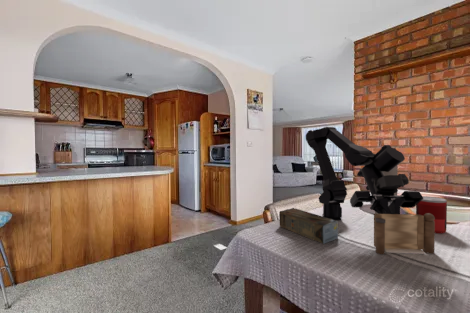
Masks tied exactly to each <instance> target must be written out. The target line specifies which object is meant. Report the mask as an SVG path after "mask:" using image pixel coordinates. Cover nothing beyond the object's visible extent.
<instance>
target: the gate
mask: <svg viewBox="0 0 470 313" xmlns="http://www.w3.org/2000/svg"><path fill="white" fill-rule="evenodd" d="M375 218H383V219H385V248H394V249H418V250H422V251H423V244H424V216H422V215H416V214H409V213H407V214H406V213H405V214H403V213H402V214H401V213H400V214H375V213H373V246H374V247H375V248H376V221H375Z"/></svg>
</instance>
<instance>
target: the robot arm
mask: <svg viewBox="0 0 470 313" xmlns="http://www.w3.org/2000/svg"><path fill="white" fill-rule="evenodd" d="M328 140H329V141H330V142H331V143H332V144H333V145H335V146H336V147H337V148H338V149H340V151H341V152H343V154H344V156H345V159H346V161H347V162H348V163H349V164H350V165H351V166H353V167H361V166H362V168H359V170H358V172H357V174H356V176H357V177H360V178H364V180H365V184H366V187H365V189H366V190H355V191H354V193H353V194H352V196H351V197H350V199H349V203H350V206H351V208H362V207H363V206H364V203H369V204H370V207H369V210H373V212H375V211H376V212H377V213H378V214H401V208H402V209H404V208H405V209H408V208H409V209H412V208H416V205H417V204H418V203H419V202H420V201H421V200H422V199H423V197H422V196H423V195H422V193H421V192H420V191H418V190H404V191H403V192H402V193H401V194H399V195H398V194H397V195H394V193H396V192H397V193H398V191H399V190H398V189H399V188H403V187H405V186H406V185H408V184H409V183H410V181H409V177H407V175H406V173H398V175H386V176H384V174H383V172H382V171H385V172H390V171H391V170H392V169H394V168H395V167H396V166H397V165H398V166H399V165H400V164H401V163H403V162H404V161H405V159H406V158H405V156H404V153H402V152H401V151H400V150H399V149H396V148H395V147H392V146H391V145H390V144H384V145H383V146H382V147H381V148H380V149H379V150H378V151H377V152H376V153H374V152H373V151H372V150H371V149H368V148H366V147H364V146H361V145H359V144H356V143H354V142H353V141H352V140H351V139H349V138H348V137H347V136H346V135H344V134H343V133H341V132H340V131H339V130H338V129H337V128H336V127H335V126H324V127H322V128H317V129H309V130H308V131H307V132H306V134H305V141H306V143H307V145H308V146H309V147H310V148H311V149H312V150H313V151H314V154H315V157H316V160H317V163H318V164H317V165H318V166H319V169H320V172H321V175H322V179H323V184H322V193H321V194H320V195H319V196H318V201H319V203H320V204H322V214H321V216H322V217H325V218H328V219H332V220H335V221H342V218H343V208H342V206H341V204H344V203H345V200H346V197H347V195H348V192H347V190H348V188H347V187H346V183H345V181H344V180H343V179H339V178H338V177H337V175H336V173H335V170H334V167H333V164H332V162H331V158H330V155H329V152H328V150H327V147H326V145H327V142H328Z"/></svg>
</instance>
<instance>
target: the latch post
mask: <svg viewBox="0 0 470 313" xmlns="http://www.w3.org/2000/svg"><path fill="white" fill-rule="evenodd" d="M375 221H376V247H375V253H376V254H378V255H385V253H386V252H385V219H383V218H375Z"/></svg>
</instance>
